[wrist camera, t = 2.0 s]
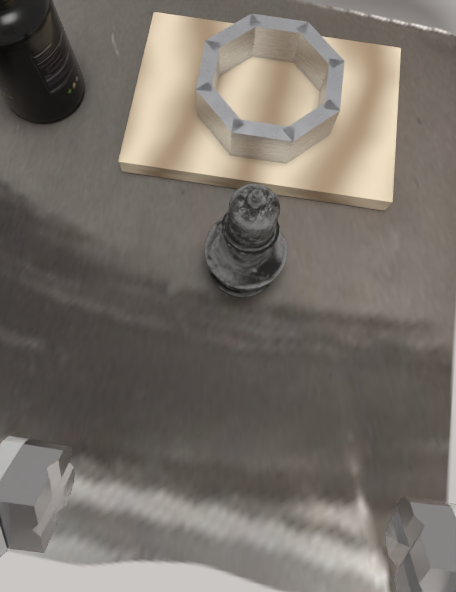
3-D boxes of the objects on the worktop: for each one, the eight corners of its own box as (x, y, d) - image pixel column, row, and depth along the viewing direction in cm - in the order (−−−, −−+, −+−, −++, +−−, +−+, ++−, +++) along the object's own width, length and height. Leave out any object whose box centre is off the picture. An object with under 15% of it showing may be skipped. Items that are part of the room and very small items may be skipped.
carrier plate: (122, 171, 34) (118, 161, 33) (156, 26, 38) (153, 11, 37) (384, 210, 34) (392, 202, 33) (393, 61, 38) (400, 48, 37)
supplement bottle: (-8, 111, 36) (-116, -29, 24) (28, 49, 37) (-58, -110, 25) (67, 136, 35) (-7, 6, 23) (99, 73, 37) (46, -78, 25)
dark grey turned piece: (213, 224, 34) (212, 132, 22) (284, 237, 34) (322, 152, 22) (198, 293, 32) (189, 233, 21) (273, 307, 32) (306, 256, 20)
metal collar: (190, 149, 33) (188, 126, 31) (211, 39, 36) (211, 7, 33) (326, 169, 33) (336, 148, 30) (337, 57, 36) (348, 27, 33)
